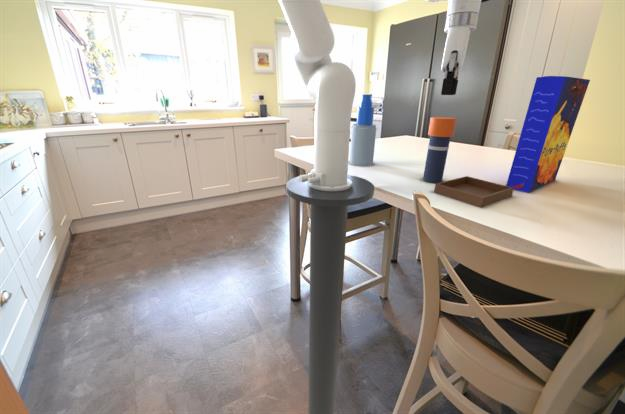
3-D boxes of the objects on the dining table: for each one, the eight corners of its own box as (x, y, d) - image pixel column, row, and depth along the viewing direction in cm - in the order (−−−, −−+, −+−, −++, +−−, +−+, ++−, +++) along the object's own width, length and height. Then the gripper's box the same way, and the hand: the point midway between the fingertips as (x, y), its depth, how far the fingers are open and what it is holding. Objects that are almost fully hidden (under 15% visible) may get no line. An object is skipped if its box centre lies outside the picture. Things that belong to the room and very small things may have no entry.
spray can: (434, 184, 86) (443, 137, 81) (418, 179, 90) (426, 134, 85) (445, 181, 89) (454, 136, 83) (430, 177, 93) (437, 133, 88)
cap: (443, 137, 80) (447, 119, 78) (422, 134, 85) (425, 117, 83) (458, 136, 83) (461, 118, 81) (437, 133, 89) (440, 116, 87)
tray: (481, 207, 69) (483, 197, 68) (433, 192, 79) (435, 183, 78) (511, 196, 76) (514, 187, 75) (464, 183, 87) (466, 176, 86)
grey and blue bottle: (376, 162, 111) (383, 94, 102) (367, 167, 104) (374, 94, 95) (355, 159, 116) (360, 94, 106) (345, 163, 109) (350, 93, 99)
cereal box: (528, 192, 79) (566, 75, 68) (505, 187, 84) (537, 76, 73) (554, 180, 91) (590, 78, 80) (533, 176, 96) (564, 79, 85)
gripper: (447, 31, 82) (437, 94, 89) (442, 18, 68) (430, 95, 75) (476, 29, 79) (463, 94, 86) (477, 15, 65) (462, 95, 71)
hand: (448, 94), depth 80 cm, fingers open, 9 cm apart
